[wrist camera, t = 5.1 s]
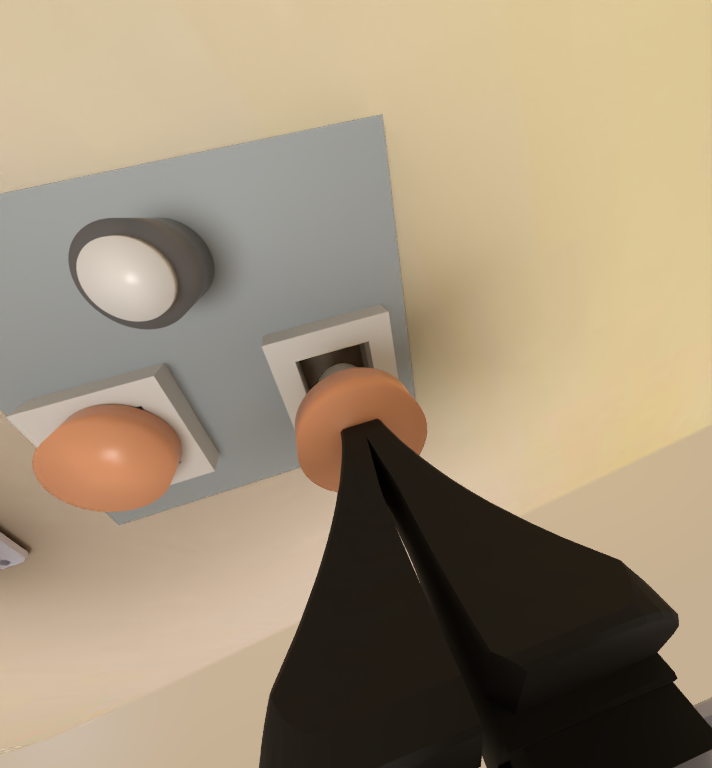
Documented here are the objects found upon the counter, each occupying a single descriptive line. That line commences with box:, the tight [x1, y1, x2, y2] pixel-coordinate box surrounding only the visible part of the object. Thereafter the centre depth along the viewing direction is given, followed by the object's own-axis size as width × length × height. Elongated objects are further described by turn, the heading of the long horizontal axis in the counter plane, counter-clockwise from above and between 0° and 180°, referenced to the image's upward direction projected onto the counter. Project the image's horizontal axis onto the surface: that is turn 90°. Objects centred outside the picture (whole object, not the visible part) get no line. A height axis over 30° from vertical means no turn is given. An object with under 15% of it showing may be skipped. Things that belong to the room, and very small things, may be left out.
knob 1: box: [33, 404, 182, 512], centre depth 14 cm, size 5×5×4 cm
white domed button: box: [68, 218, 214, 330], centre depth 10 cm, size 3×3×4 cm
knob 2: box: [295, 363, 427, 492], centre depth 12 cm, size 5×5×4 cm
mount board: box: [0, 114, 416, 525], centre depth 14 cm, size 18×15×3 cm
